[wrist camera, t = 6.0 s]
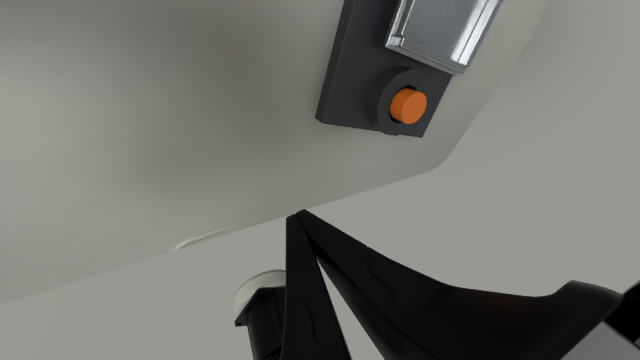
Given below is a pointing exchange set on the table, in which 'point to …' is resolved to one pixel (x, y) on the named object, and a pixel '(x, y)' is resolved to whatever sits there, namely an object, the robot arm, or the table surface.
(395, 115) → the button
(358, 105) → the scale
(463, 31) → the brushed steel platform
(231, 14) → the table surface
